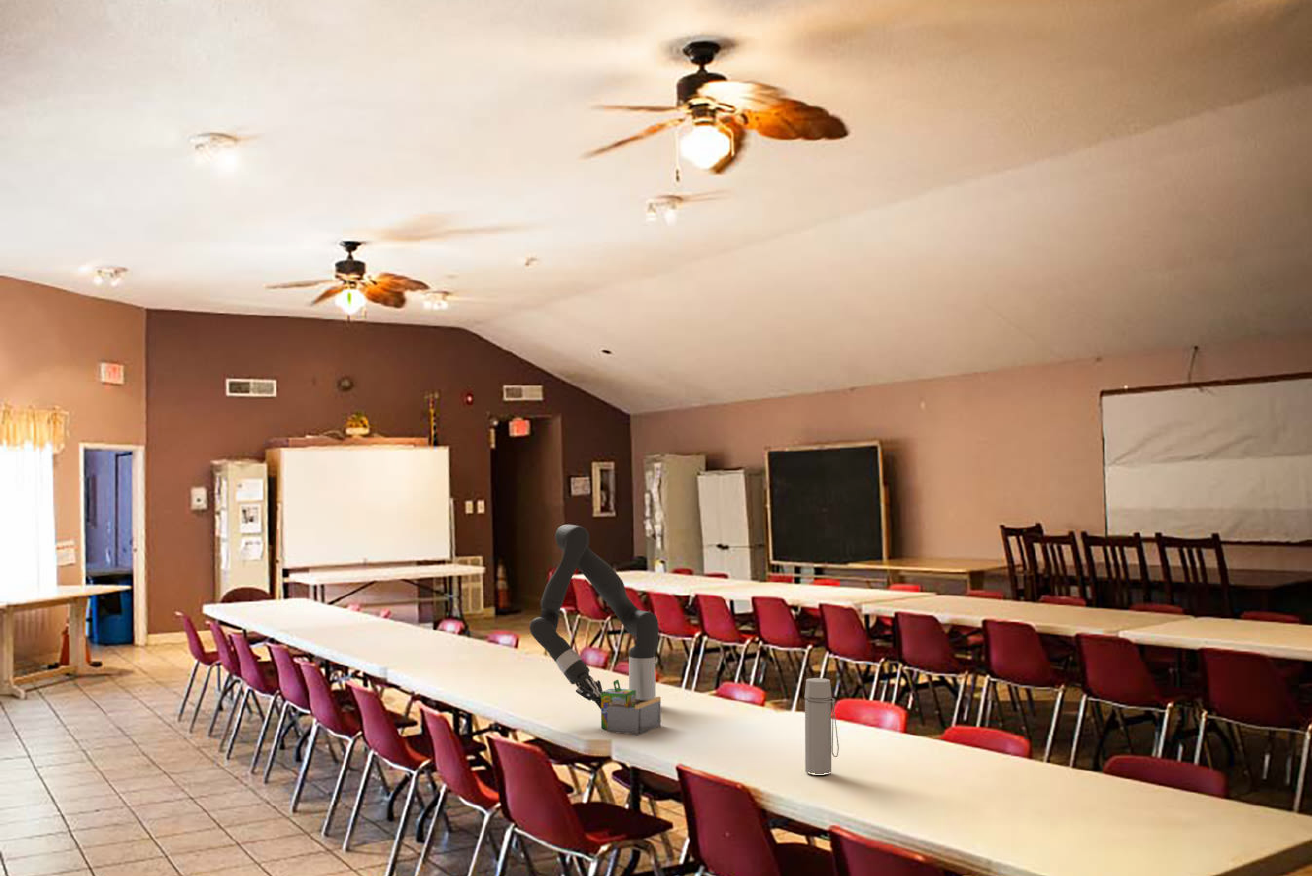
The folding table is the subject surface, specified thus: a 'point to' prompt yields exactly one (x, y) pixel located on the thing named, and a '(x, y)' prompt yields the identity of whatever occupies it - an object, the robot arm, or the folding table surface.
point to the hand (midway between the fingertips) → (604, 707)
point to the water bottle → (818, 726)
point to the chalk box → (616, 700)
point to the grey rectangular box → (635, 716)
